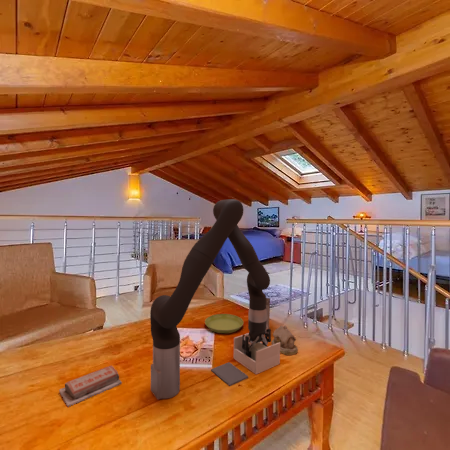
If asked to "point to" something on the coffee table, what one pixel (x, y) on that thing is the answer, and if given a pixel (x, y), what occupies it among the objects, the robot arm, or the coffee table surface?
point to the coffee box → (267, 311)
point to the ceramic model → (285, 340)
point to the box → (255, 349)
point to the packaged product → (90, 385)
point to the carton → (257, 356)
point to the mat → (229, 374)
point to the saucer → (224, 323)
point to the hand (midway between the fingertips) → (256, 355)
